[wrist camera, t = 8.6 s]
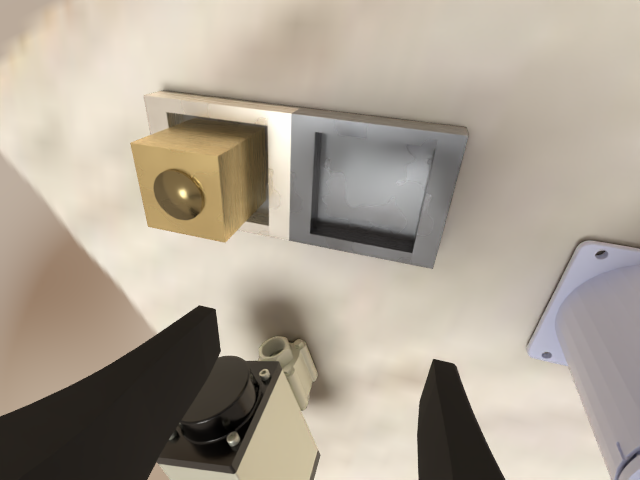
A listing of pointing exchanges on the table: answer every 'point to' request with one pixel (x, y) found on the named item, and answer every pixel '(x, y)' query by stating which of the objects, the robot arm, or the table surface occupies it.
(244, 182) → the brass cube with hole
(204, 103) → the tray
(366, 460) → the table surface
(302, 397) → the pneumatic valve
